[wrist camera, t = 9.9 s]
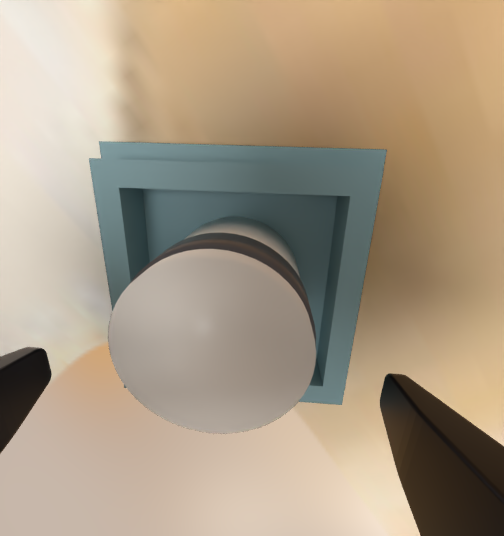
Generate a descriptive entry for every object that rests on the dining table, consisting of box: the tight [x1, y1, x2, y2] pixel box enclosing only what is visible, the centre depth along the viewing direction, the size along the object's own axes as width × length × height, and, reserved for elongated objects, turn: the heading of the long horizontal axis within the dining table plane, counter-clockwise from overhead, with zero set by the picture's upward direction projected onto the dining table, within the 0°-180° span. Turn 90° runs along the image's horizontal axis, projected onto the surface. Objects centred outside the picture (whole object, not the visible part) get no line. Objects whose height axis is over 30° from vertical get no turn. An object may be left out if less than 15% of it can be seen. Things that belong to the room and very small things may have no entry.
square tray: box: [89, 141, 387, 405], centre depth 13 cm, size 12×12×3 cm
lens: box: [108, 217, 316, 434], centre depth 11 cm, size 6×6×6 cm
